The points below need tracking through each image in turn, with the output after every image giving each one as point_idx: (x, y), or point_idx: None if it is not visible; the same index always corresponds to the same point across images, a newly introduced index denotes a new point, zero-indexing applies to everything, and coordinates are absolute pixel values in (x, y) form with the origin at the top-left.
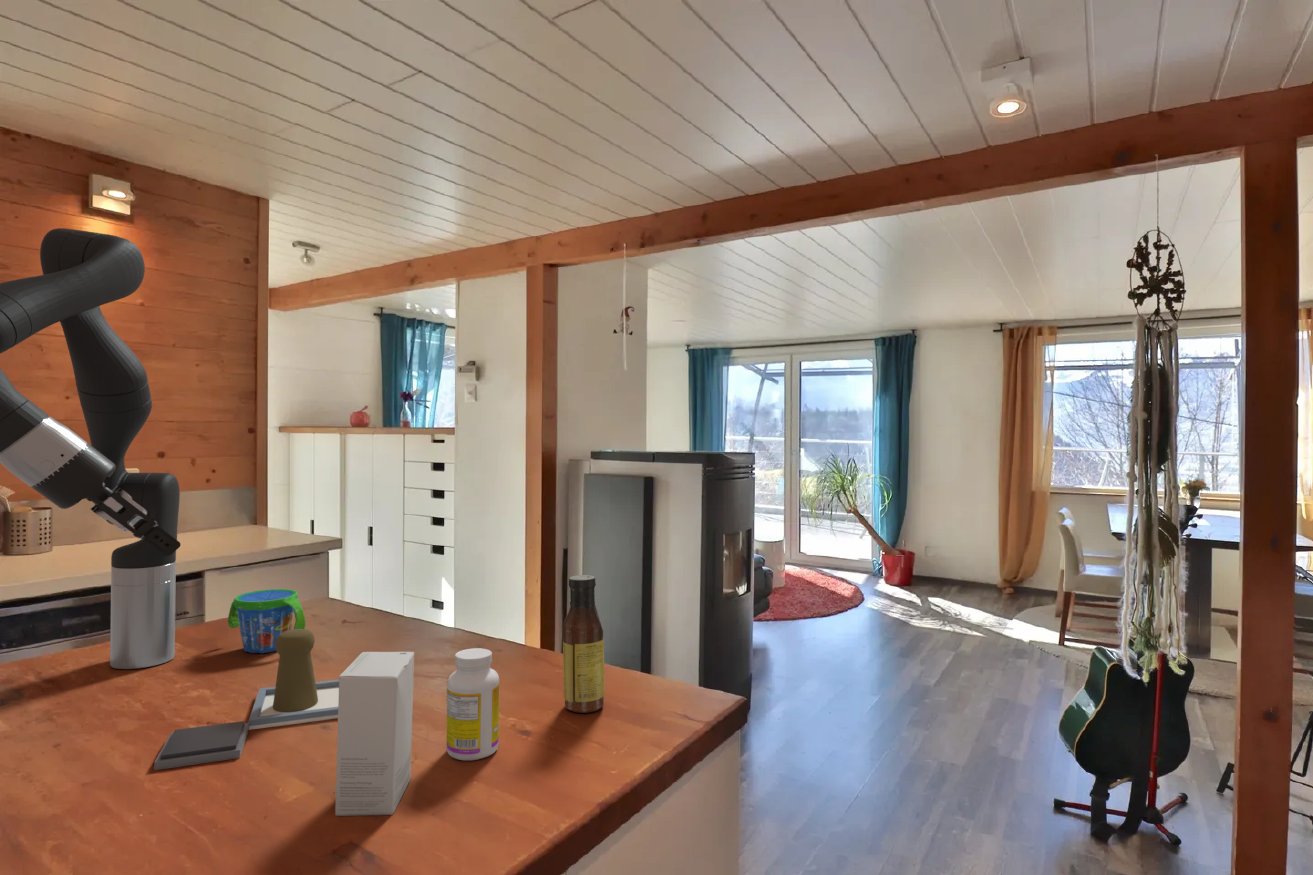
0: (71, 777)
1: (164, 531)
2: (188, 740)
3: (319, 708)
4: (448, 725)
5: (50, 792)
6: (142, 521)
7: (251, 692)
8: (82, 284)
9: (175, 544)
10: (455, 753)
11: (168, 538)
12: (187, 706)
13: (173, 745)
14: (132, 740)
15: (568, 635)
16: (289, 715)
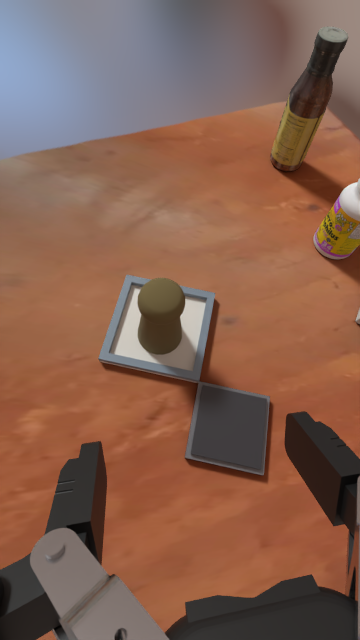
0: (239, 561)
1: (340, 452)
2: (231, 441)
3: (185, 316)
4: (351, 244)
5: (270, 580)
6: (87, 538)
7: (77, 367)
8: None
9: (321, 424)
10: (348, 255)
11: (343, 442)
12: (79, 437)
13: (237, 456)
14: (160, 499)
15: (317, 110)
16: (205, 344)
